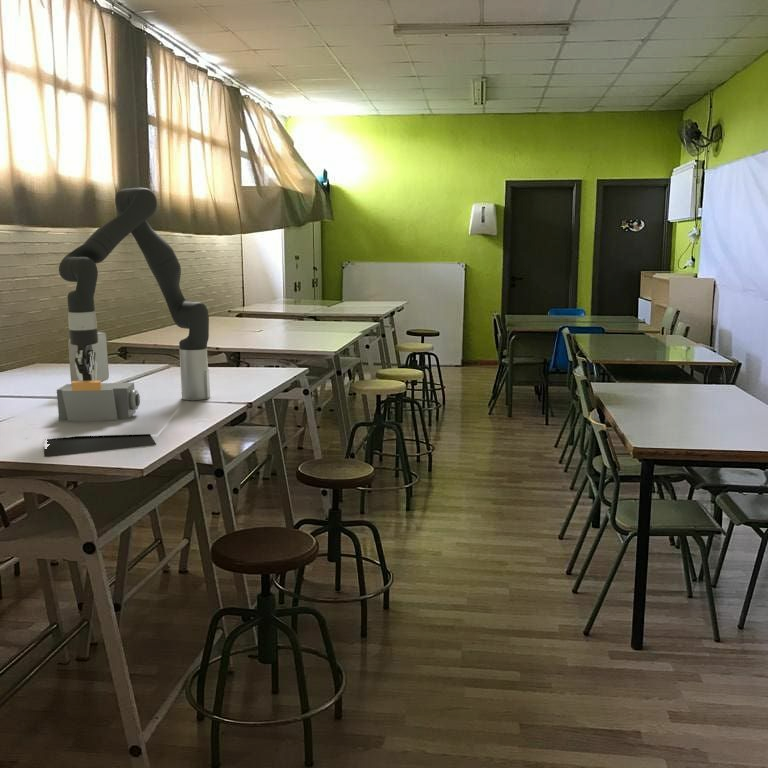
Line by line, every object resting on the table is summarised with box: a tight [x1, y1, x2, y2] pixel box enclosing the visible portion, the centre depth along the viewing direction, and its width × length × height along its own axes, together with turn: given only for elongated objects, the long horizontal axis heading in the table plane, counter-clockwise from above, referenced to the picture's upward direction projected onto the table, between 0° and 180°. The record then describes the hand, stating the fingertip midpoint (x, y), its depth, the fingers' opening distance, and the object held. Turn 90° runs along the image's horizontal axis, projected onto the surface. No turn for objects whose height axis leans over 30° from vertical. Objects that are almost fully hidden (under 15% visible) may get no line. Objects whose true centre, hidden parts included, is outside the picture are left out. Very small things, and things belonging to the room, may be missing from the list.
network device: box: [67, 332, 110, 383], centre depth 277 cm, size 26×9×20 cm, turn 179°
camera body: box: [56, 382, 141, 422], centre depth 228 cm, size 22×10×10 cm, turn 96°
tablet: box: [43, 433, 157, 458], centre depth 200 cm, size 27×1×20 cm
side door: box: [62, 380, 119, 422], centre depth 220 cm, size 14×1×13 cm, turn 96°
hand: (88, 386), depth 219 cm, fingers closed
